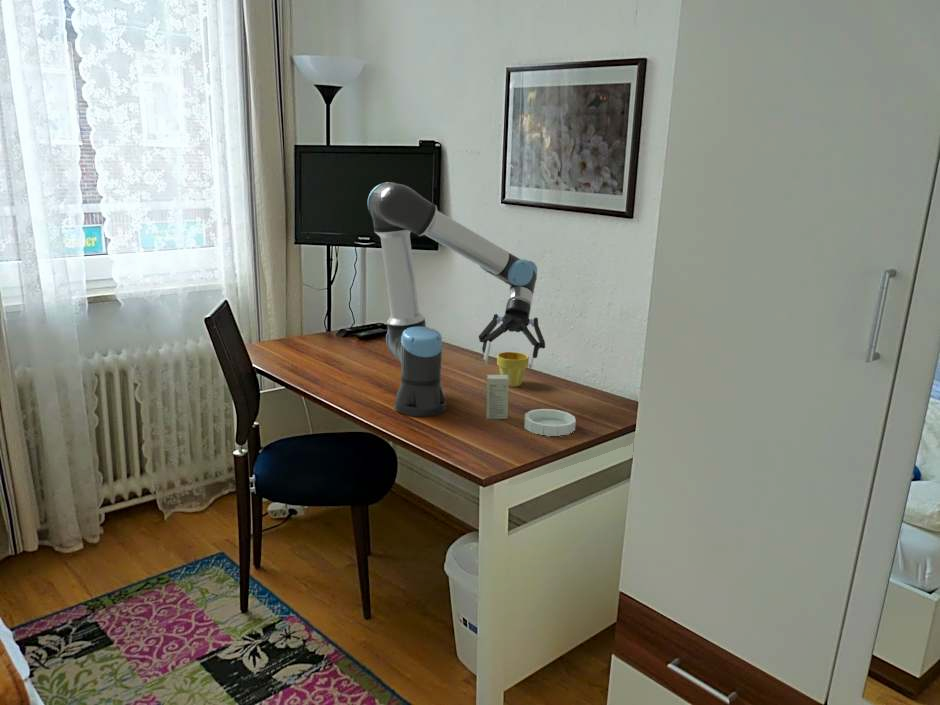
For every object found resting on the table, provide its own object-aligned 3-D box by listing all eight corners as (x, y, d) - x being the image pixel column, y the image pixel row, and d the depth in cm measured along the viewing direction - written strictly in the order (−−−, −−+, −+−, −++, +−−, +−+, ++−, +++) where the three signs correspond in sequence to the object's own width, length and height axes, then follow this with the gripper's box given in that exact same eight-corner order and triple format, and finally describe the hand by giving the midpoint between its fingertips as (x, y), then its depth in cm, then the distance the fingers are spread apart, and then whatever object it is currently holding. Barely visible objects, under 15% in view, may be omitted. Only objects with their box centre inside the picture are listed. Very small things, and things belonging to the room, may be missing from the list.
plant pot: (524, 389, 239) (526, 360, 237) (493, 386, 241) (495, 357, 239) (528, 381, 249) (530, 353, 247) (498, 378, 251) (500, 350, 249)
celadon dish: (540, 439, 197) (541, 428, 196) (515, 422, 209) (515, 412, 209) (584, 432, 203) (585, 422, 203) (557, 416, 215) (557, 406, 215)
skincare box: (506, 414, 216) (508, 374, 212) (507, 419, 211) (510, 378, 208) (484, 413, 215) (486, 373, 212) (485, 419, 211) (487, 378, 208)
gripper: (559, 315, 229) (549, 374, 219) (481, 308, 235) (468, 365, 225) (558, 301, 223) (548, 361, 213) (478, 294, 228) (464, 353, 218)
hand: (507, 364), depth 219 cm, fingers open, 13 cm apart
